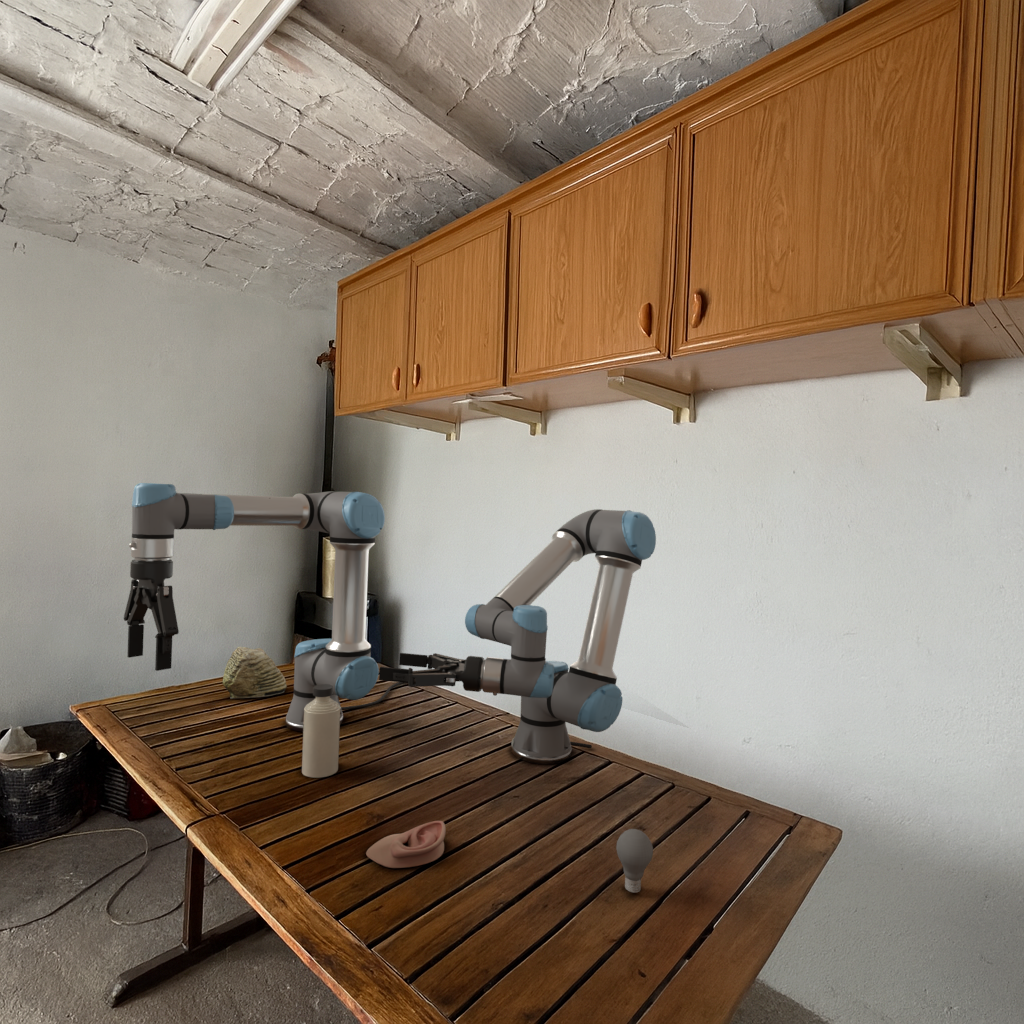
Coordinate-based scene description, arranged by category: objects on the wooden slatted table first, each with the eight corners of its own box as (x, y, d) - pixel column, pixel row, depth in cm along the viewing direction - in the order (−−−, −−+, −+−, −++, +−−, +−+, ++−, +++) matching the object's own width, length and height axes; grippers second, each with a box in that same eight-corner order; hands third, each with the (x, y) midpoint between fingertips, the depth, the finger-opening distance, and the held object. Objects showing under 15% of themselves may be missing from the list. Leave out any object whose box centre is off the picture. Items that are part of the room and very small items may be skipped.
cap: (336, 693, 147) (337, 686, 147) (323, 698, 143) (323, 690, 143) (322, 690, 149) (323, 682, 149) (308, 694, 145) (309, 687, 145)
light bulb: (610, 879, 108) (613, 822, 108) (644, 879, 109) (647, 822, 109) (619, 902, 102) (622, 840, 102) (655, 901, 103) (658, 840, 103)
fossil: (218, 695, 195) (220, 647, 195) (278, 685, 208) (279, 640, 207) (228, 703, 189) (230, 653, 188) (289, 692, 201) (290, 645, 201)
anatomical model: (359, 840, 110) (385, 809, 121) (358, 862, 110) (384, 829, 121) (431, 852, 107) (451, 819, 119) (431, 875, 107) (451, 840, 119)
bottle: (345, 768, 148) (348, 687, 148) (320, 780, 141) (323, 696, 141) (319, 760, 152) (322, 681, 152) (293, 772, 145) (297, 689, 145)
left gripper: (108, 554, 134) (104, 654, 134) (159, 565, 118) (155, 678, 119) (146, 552, 140) (143, 648, 140) (199, 563, 124) (195, 671, 124)
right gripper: (470, 708, 127) (369, 698, 130) (491, 677, 152) (406, 668, 155) (472, 671, 127) (371, 662, 130) (493, 645, 152) (408, 638, 155)
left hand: (148, 662), depth 129 cm, fingers open, 13 cm apart
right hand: (390, 665), depth 142 cm, fingers open, 13 cm apart
